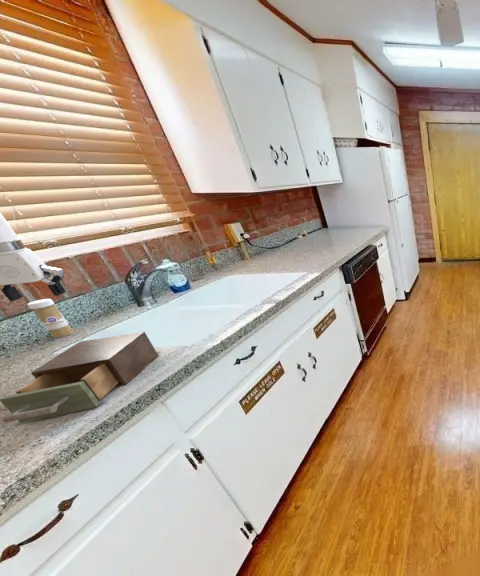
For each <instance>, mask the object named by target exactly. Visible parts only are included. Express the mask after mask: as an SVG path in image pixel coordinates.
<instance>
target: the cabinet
mask: <svg viewBox="0 0 480 576" xmlns="http://www.w3.org/2000/svg"><path fill="white" fill-rule="evenodd" d="M158 358H159V353H158V352H157V350H156V348H155V346H154V345H153V344H152V342H151V340H150V339H149V336H148V335H147V333H146V332H145V331H140V332H134V333H127V334H121V335H120V334H119V335H115V336H114V335H113V336H107V337H101V338H100V337H99V338H95V339H94V338H93V339H88V340H81V341H79V342H77V343H75V344H74V345H72V346H70V347H69V348H67V349H66V350H64V351H63V352H61V353H59V354H58V355H56V356H54V357H53V358H51V359H50V360H48V361H47V362H45V363H44V364H42V365H41V366H39V367H37V368H35V369H34V370H32V371H31V372H30V374H31V375H32V376H33V377H34V378H35V379H36V378H38V377H39V376H41V375H42V374H44V373H48V372H54V371H59V370H65V369H71V368H76V367H82V366H88V365H93V364H99V363H105V362H107V364H108V365H109V367H110V368H111V369H112V371H113V372H114V374H115V375H116V377H117V378H118V380H119V381H120V382H119V383H118V384H117V385H116V386H115V387H114V388H119V387H123V386H127V385H128V384H129V383H130V382H131V381H133V380H134V379H135V378H136V377H137V376H138V375H139V374H140V373H141V372H143V371H144V370H145V369H146V368H148V366H149V365H150V364H152V363H153V362H154V361H155V360H156V359H158Z"/></svg>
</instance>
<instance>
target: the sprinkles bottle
mask: <svg viewBox="0 0 480 576" xmlns="http://www.w3.org/2000/svg"><path fill="white" fill-rule="evenodd" d="M27 306H28V308H29V310H31V311H33V313H34V314H35V315H36V317H37V318H38V319H39V320H40V322H41V323H42V325H43V327H45V328H46V330H47V331H48V332H49V333H50V334H51V336H52V339H58V338H63V337H67V336H70V335H73V334H75V331H76V330H74V329H73V328H72V326H71V325H70V323H69V322H68V320H67V319H66V317H64V315H63V314H62V313H61V311H60V310H59V309H58V307H57V306H56V304H55V302H54V300H53V299H52V298H43V299H38V300H37V299H36V300H33V301H30V302H28V303H27Z"/></svg>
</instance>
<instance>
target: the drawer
mask: <svg viewBox="0 0 480 576" xmlns="http://www.w3.org/2000/svg"><path fill="white" fill-rule="evenodd" d="M119 382H120V381H119V380H118V378H117V377H116V375H115V374H114V372H113V371H112V369H111V368H110V367H109V365H108V364H107V362H105V363H99V364H93V365H88V366H82V367H76V368H71V369H65V370H59V371H54V372H48V373H44V374H42V375H41V376H39V377H38V378H35V379H33V380H31V381H30V382H28V383H27V384H26V385H24V386H23V387H21V388H19V389H18V390H16V391H15V393H14V394H8V395H4V396H2V397H1V398H0V403H1V405H3V406H4V407H5V408H6V410H8V411H9V412H10V414H6V415H4V416H3V417H2V418H1V421H2V422H3V423H10V422H15V421H18V422H19V423H20V424H24V423H28V422H32V421H33V422H34V421H37V420H43V419H47V418H51V417H56V416H60V415H65V414H70V413H74V412H80V411H85V410H88V409H94V408H98V407H99V405H101V402H100V400H102V399H103V398H104V397H105V396H106V395H107V394H109V392H110V391H111V390H113V389H114V388H116V387H115V386H116V385H117V384H118V383H119Z"/></svg>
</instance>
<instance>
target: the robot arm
mask: <svg viewBox="0 0 480 576" xmlns="http://www.w3.org/2000/svg"><path fill="white" fill-rule="evenodd" d="M64 272H65V269H63V268H58V267H54V266H53V267H52V266H48V265H46V263H45V262H44V261H43V260H42V258H40V257H39V256H38V255H37V253H35V252H34V251H33V250H32V249H31V248H27V247H26V246H25V244H24V242H22V240H21V239H20V237H19V236H18V235H17V233H16V232H15V230H14V229H13V227H12V226H11V224H10V223H9V222H8V221H7V220H6V218H5V217H4V215H3V214H2V213H1V212H0V291H1V292H2V293H3V295H4V296H5V297H6V298H7V299H8V301H10V302H15V301H17V300H20V299H22V298H23V295H22V293H21V292H20V291H19V290H18V288H17V287H15V286H13V285H17V284H26V283H36V282H39V281H40V282H43V283H45V284H48V285H47V287H48V289H49V290H50V291H51V294H53V296H55V297H58V296H61V295H64V294H65V293H66V289H65V287H64V286H63V285H62V283H61V282H62V279H63V278H64ZM53 274H54V275H53Z"/></svg>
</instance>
